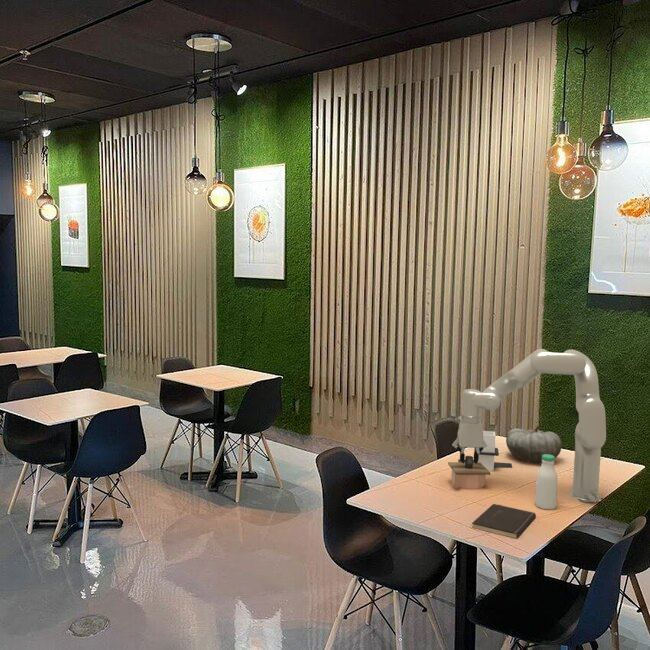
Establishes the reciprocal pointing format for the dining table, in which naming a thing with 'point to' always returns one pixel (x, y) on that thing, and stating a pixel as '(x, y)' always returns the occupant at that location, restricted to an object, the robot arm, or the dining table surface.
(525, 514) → the hardcover book
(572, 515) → the dining table surface
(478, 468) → the walnut lid
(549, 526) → the dining table surface
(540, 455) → the gourd
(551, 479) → the milk bottle
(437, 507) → the dining table surface
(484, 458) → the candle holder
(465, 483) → the terracotta bowl
